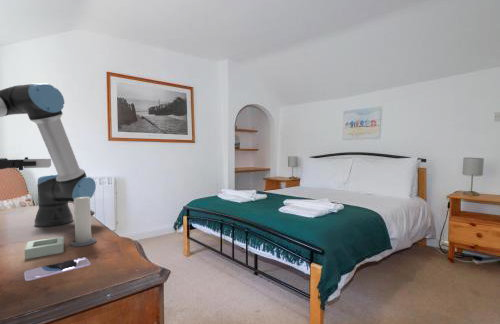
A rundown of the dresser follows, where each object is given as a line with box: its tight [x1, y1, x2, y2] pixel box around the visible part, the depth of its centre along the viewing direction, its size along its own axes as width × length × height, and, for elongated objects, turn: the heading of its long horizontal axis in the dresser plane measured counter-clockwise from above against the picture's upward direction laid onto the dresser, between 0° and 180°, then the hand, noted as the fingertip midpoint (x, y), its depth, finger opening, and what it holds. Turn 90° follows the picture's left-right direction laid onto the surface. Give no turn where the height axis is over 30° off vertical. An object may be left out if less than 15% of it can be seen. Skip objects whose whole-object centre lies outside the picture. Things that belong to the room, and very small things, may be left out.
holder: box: [24, 235, 65, 260], centre depth 92 cm, size 10×10×3 cm
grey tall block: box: [73, 197, 93, 243], centre depth 100 cm, size 5×5×16 cm
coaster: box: [70, 237, 97, 248], centre depth 100 cm, size 8×8×1 cm
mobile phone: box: [23, 256, 91, 282], centre depth 78 cm, size 8×1×15 cm
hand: (50, 162), depth 94 cm, fingers open, 13 cm apart
